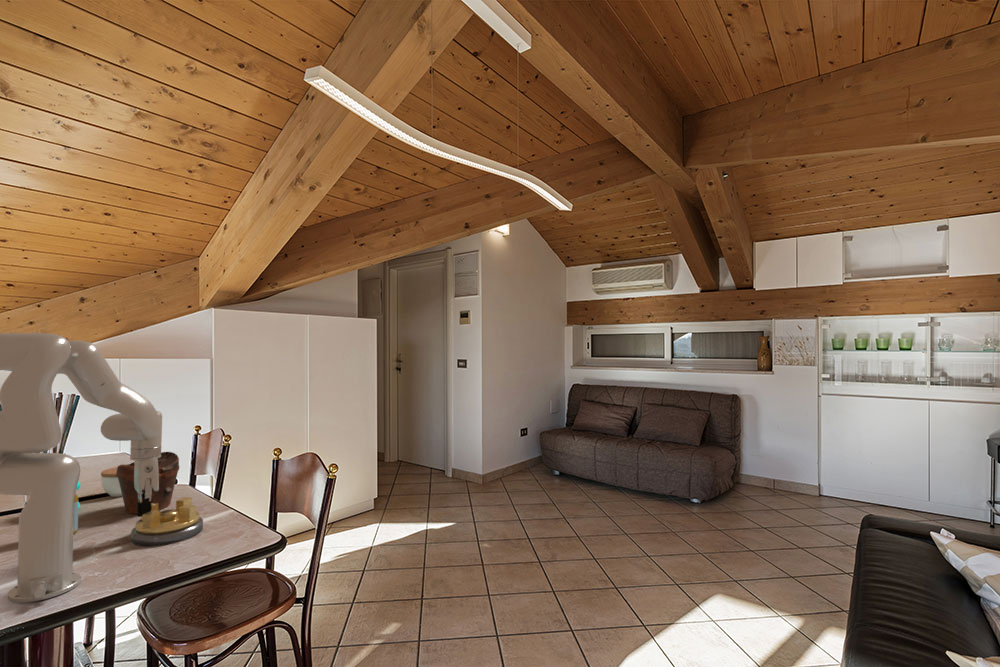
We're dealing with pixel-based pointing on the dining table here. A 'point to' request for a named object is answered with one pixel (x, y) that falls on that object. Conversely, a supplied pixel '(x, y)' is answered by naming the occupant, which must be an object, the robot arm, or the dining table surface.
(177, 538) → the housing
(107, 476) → the lidded bowl
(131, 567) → the dining table surface
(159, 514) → the gold crown turntable
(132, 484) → the brown chunky piece
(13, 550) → the dining table surface
